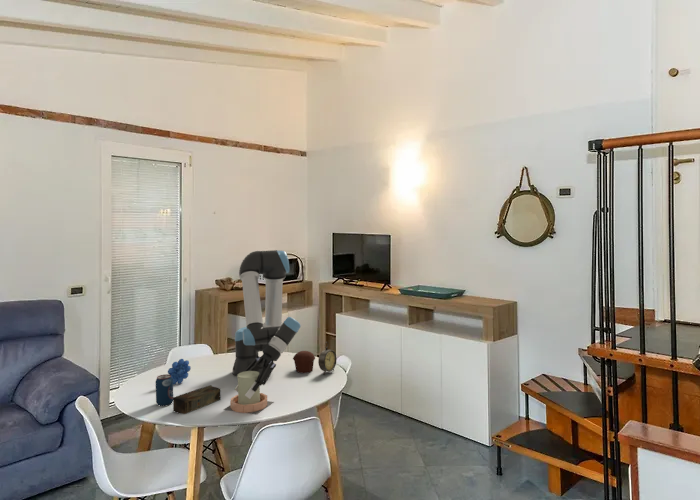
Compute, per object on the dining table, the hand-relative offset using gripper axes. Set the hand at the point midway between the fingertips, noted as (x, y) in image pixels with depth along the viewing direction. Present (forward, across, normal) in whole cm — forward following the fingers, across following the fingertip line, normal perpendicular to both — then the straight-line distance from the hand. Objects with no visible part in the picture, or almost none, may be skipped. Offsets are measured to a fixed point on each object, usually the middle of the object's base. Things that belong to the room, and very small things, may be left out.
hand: (241, 394), depth 195 cm
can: (+1, 0, +5) cm, 5 cm away
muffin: (-30, -26, +40) cm, 56 cm away
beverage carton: (+14, -16, -4) cm, 21 cm away
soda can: (+20, -28, -11) cm, 36 cm away
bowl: (+2, 0, +6) cm, 7 cm away
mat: (+2, 0, +7) cm, 7 cm away
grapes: (+10, -51, -1) cm, 52 cm away
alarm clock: (-34, -15, +44) cm, 58 cm away
